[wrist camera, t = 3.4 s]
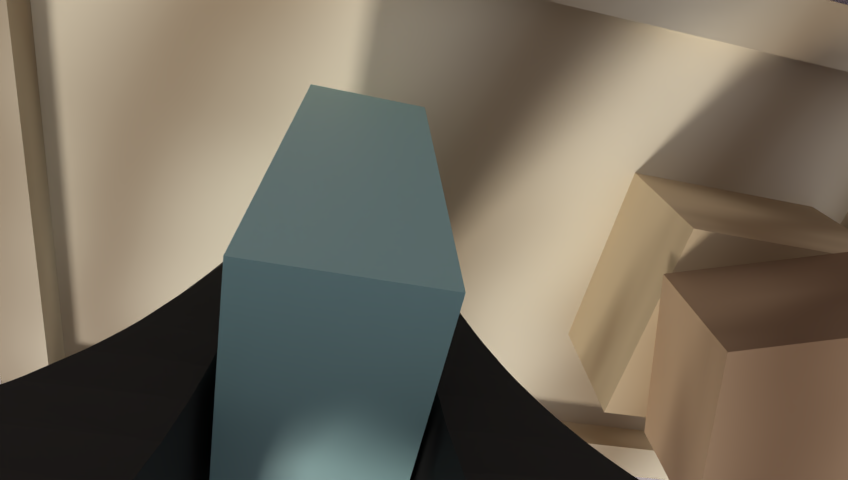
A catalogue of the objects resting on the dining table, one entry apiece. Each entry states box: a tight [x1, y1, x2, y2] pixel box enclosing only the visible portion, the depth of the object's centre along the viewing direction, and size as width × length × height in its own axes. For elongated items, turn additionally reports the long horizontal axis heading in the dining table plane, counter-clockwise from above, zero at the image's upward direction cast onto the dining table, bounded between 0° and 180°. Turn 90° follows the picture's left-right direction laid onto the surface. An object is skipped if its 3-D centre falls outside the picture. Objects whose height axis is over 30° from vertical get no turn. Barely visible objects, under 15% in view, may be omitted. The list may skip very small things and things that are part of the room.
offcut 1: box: [568, 173, 848, 417], centre depth 14 cm, size 5×5×3 cm
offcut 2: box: [644, 252, 848, 480], centre depth 12 cm, size 4×5×2 cm
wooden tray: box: [0, 0, 848, 480], centre depth 15 cm, size 22×14×2 cm, turn 78°
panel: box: [209, 84, 466, 480], centre depth 10 cm, size 2×7×6 cm, turn 167°
